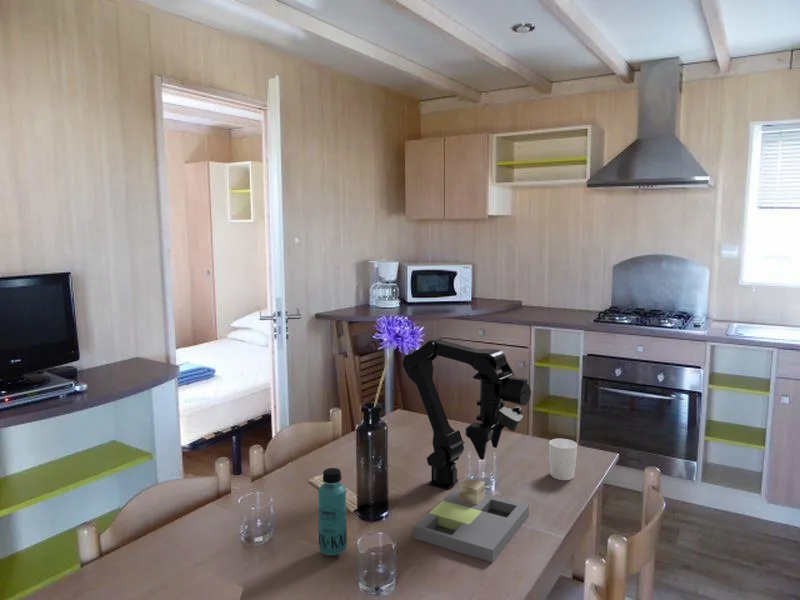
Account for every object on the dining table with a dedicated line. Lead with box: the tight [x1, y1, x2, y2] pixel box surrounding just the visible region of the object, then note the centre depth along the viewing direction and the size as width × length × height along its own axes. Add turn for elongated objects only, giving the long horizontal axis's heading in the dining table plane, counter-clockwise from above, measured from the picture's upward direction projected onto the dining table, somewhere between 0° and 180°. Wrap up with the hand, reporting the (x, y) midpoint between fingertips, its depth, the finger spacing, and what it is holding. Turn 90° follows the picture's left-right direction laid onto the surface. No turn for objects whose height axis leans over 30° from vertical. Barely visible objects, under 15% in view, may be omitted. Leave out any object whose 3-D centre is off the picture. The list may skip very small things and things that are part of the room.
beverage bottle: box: [317, 467, 348, 556], centre depth 133 cm, size 6×7×20 cm
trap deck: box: [413, 487, 530, 564], centre depth 145 cm, size 20×24×3 cm
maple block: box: [459, 477, 486, 504], centre depth 153 cm, size 5×5×4 cm
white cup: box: [548, 438, 578, 481], centre depth 173 cm, size 8×8×10 cm
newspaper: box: [308, 474, 358, 514], centre depth 164 cm, size 24×7×2 cm, turn 37°
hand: (488, 453), depth 158 cm, fingers open, 9 cm apart
